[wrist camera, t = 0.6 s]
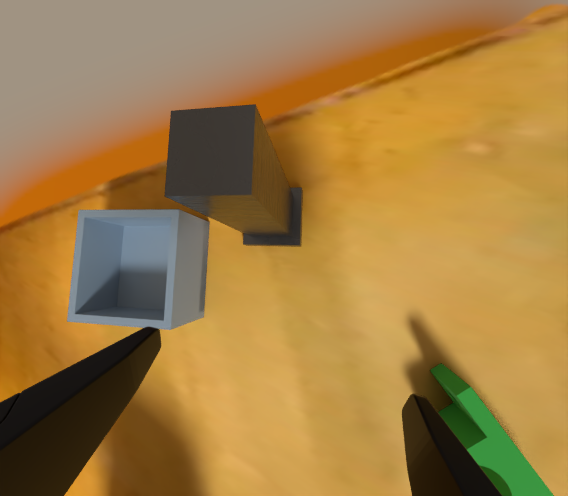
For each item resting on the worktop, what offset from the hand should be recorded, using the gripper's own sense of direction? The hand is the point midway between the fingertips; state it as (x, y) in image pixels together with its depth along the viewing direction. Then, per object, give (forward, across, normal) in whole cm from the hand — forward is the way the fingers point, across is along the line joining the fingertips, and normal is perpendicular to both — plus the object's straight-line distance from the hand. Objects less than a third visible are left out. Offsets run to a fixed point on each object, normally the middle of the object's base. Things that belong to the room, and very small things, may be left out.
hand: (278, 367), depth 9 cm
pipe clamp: (+7, -15, +11) cm, 20 cm away
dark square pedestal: (+15, +3, 0) cm, 15 cm away
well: (+12, +13, +6) cm, 19 cm away
